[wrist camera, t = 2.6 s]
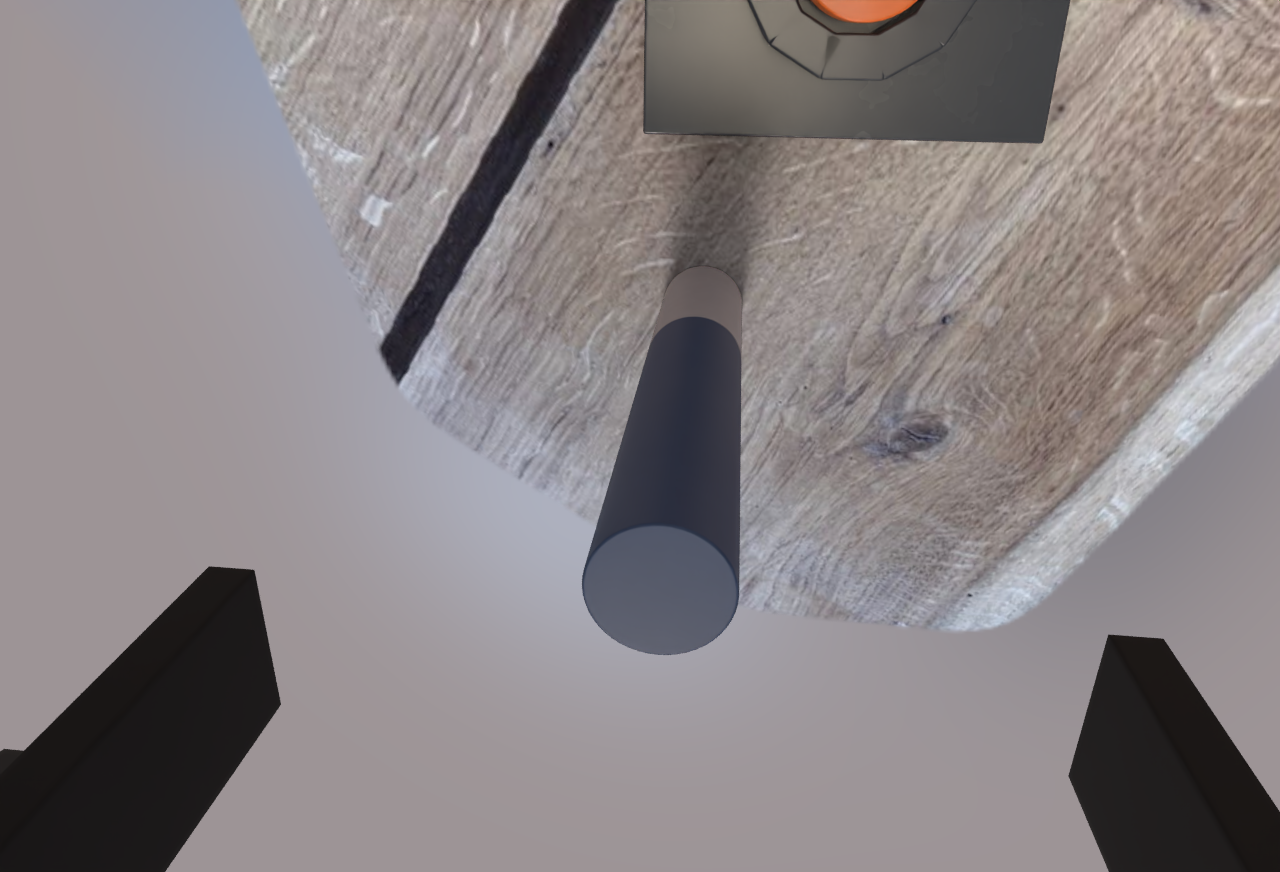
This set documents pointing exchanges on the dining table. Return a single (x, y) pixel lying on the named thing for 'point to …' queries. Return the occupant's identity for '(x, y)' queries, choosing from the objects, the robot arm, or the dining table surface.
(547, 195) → the dining table surface
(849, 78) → the station
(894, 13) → the button
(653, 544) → the pen
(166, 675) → the robot arm
